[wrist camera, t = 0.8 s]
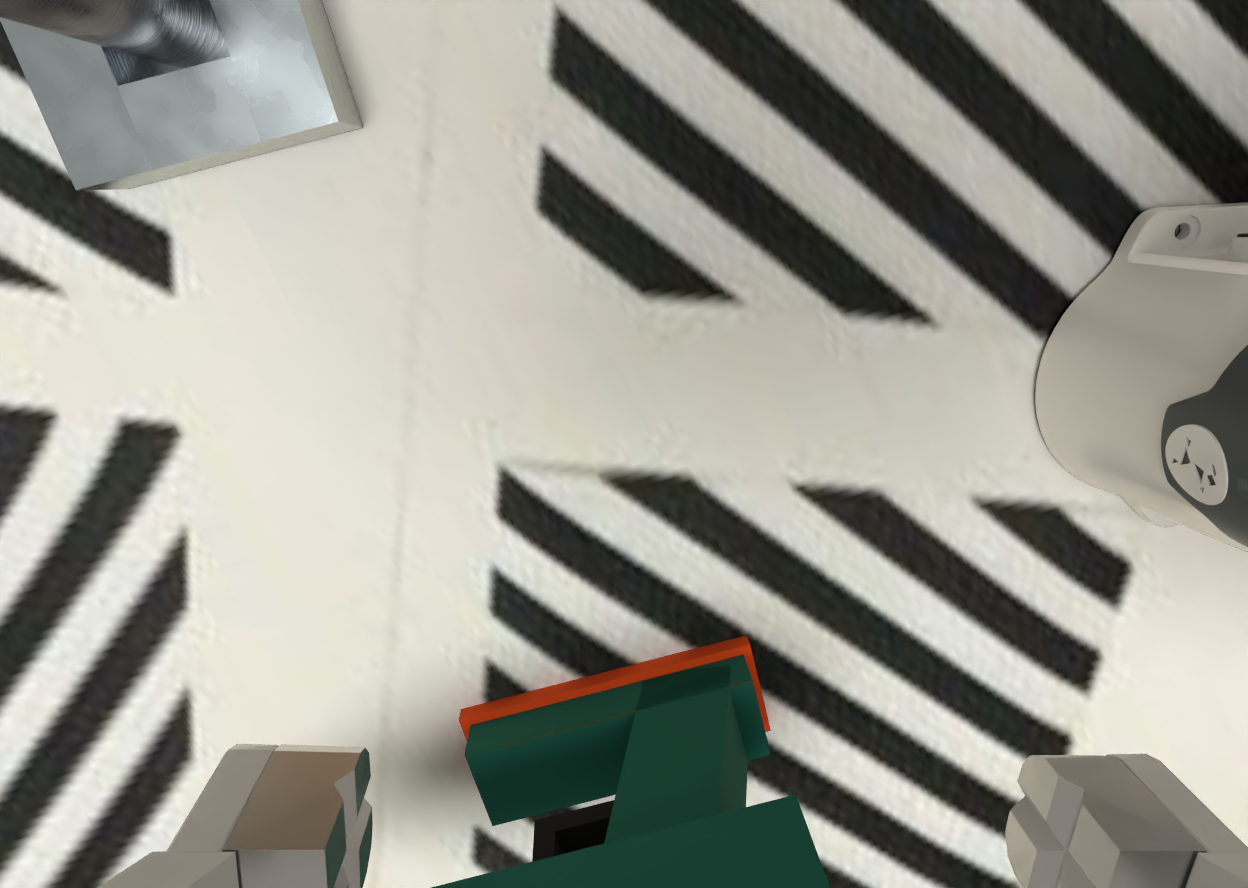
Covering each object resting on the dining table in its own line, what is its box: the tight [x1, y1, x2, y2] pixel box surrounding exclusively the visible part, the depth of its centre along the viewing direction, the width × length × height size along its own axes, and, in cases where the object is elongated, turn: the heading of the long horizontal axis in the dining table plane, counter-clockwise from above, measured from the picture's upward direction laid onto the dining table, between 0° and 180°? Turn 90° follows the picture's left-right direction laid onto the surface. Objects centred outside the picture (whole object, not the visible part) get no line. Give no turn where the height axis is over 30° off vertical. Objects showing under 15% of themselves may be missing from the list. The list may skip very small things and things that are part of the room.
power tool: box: [432, 635, 830, 888], centre depth 42 cm, size 32×7×20 cm, turn 104°
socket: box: [0, 0, 363, 190], centre depth 36 cm, size 12×12×4 cm
